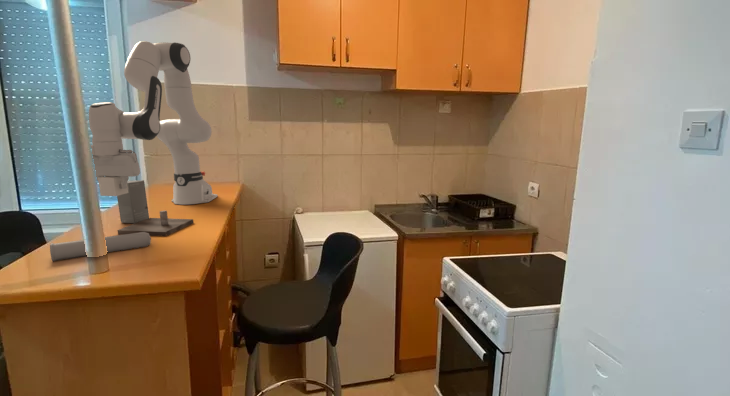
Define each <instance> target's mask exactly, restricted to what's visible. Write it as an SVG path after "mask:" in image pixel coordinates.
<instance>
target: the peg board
mask: <svg viewBox="0 0 730 396" xmlns="http://www.w3.org/2000/svg"><path fill="white" fill-rule="evenodd" d="M193 224H194V219H193V218H169V217H168V211H167V210H159V217H149V218H148V219H146V220H143V221H140V222H138V223H132V224H131V225H128V226H124V227H122V228H119V229H117V235H124V234H132V233H139V232H146V233H149V235H150V237H151V236H154V237H167V236H169V235H171V234H173V233H176V232H177V231H180V230H181V229H184V228H186V227H189V226H191V225H193Z"/></svg>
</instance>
